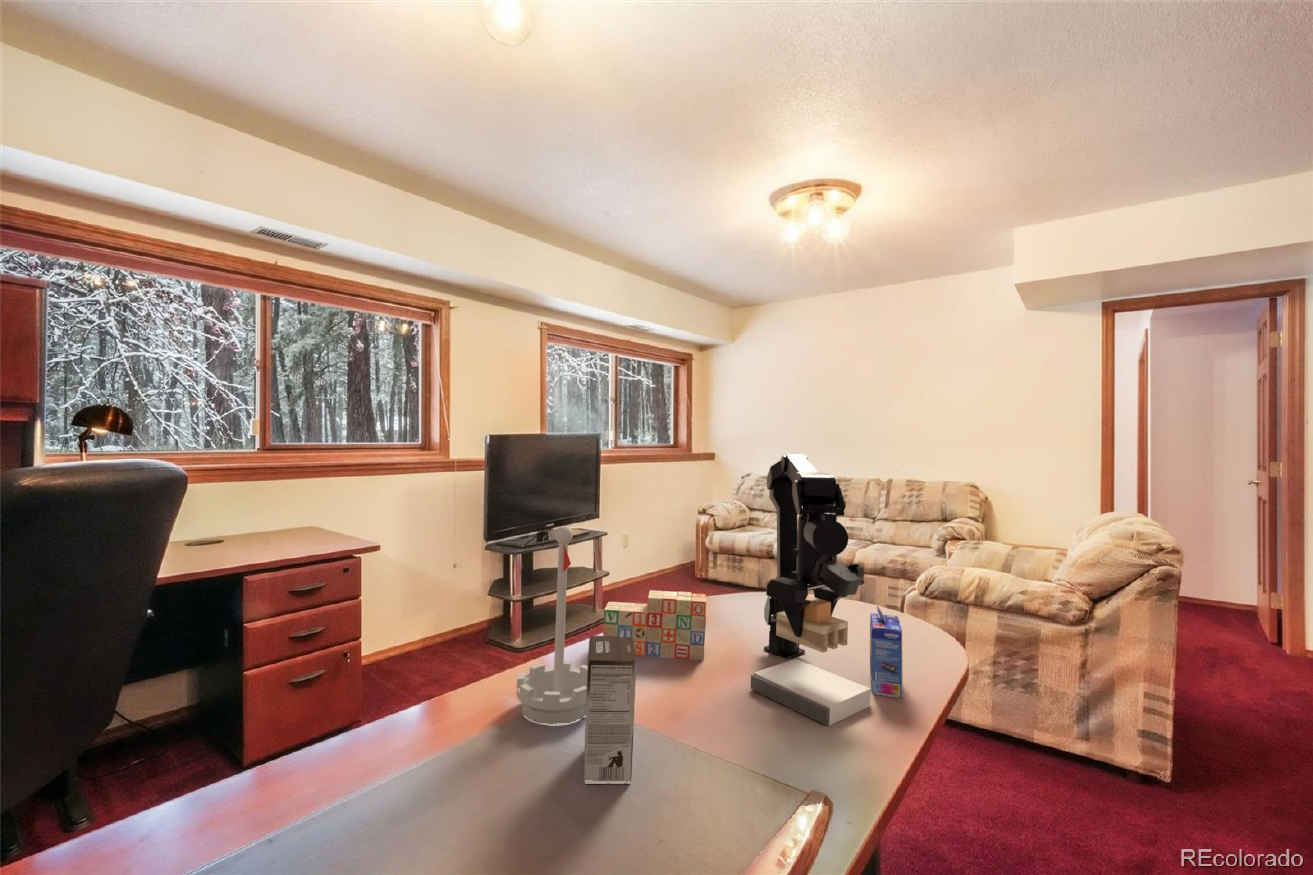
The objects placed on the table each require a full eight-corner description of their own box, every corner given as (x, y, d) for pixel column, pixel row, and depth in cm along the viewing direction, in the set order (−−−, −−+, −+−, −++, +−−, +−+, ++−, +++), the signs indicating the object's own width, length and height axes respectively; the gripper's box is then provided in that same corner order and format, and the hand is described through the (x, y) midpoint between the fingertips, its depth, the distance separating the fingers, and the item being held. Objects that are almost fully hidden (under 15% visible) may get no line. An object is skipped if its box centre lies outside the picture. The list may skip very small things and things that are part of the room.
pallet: (800, 628, 105) (801, 607, 105) (847, 644, 97) (847, 621, 97) (776, 635, 101) (776, 613, 101) (823, 652, 93) (823, 628, 93)
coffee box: (585, 747, 80) (589, 634, 80) (629, 747, 81) (633, 635, 81) (581, 786, 71) (586, 659, 71) (632, 785, 72) (637, 659, 72)
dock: (794, 674, 109) (795, 658, 109) (870, 706, 96) (870, 688, 96) (750, 690, 101) (750, 673, 101) (826, 727, 88) (826, 708, 88)
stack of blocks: (601, 654, 116) (603, 594, 116) (606, 643, 122) (608, 587, 123) (704, 660, 115) (706, 600, 115) (704, 649, 121) (706, 592, 121)
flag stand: (510, 698, 95) (517, 521, 95) (584, 687, 100) (590, 519, 100) (523, 736, 83) (531, 533, 83) (607, 721, 88) (614, 531, 88)
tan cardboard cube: (807, 611, 102) (807, 595, 102) (830, 619, 98) (831, 602, 98) (793, 615, 100) (793, 598, 100) (816, 623, 96) (817, 605, 96)
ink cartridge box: (868, 673, 110) (870, 600, 111) (898, 678, 109) (900, 604, 109) (869, 694, 101) (872, 614, 101) (902, 699, 99) (905, 618, 100)
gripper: (820, 558, 87) (817, 658, 87) (884, 548, 99) (881, 636, 98) (765, 546, 96) (762, 637, 96) (830, 538, 107) (827, 619, 107)
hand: (811, 632), depth 99 cm, fingers closed on pallet, 7 cm apart
